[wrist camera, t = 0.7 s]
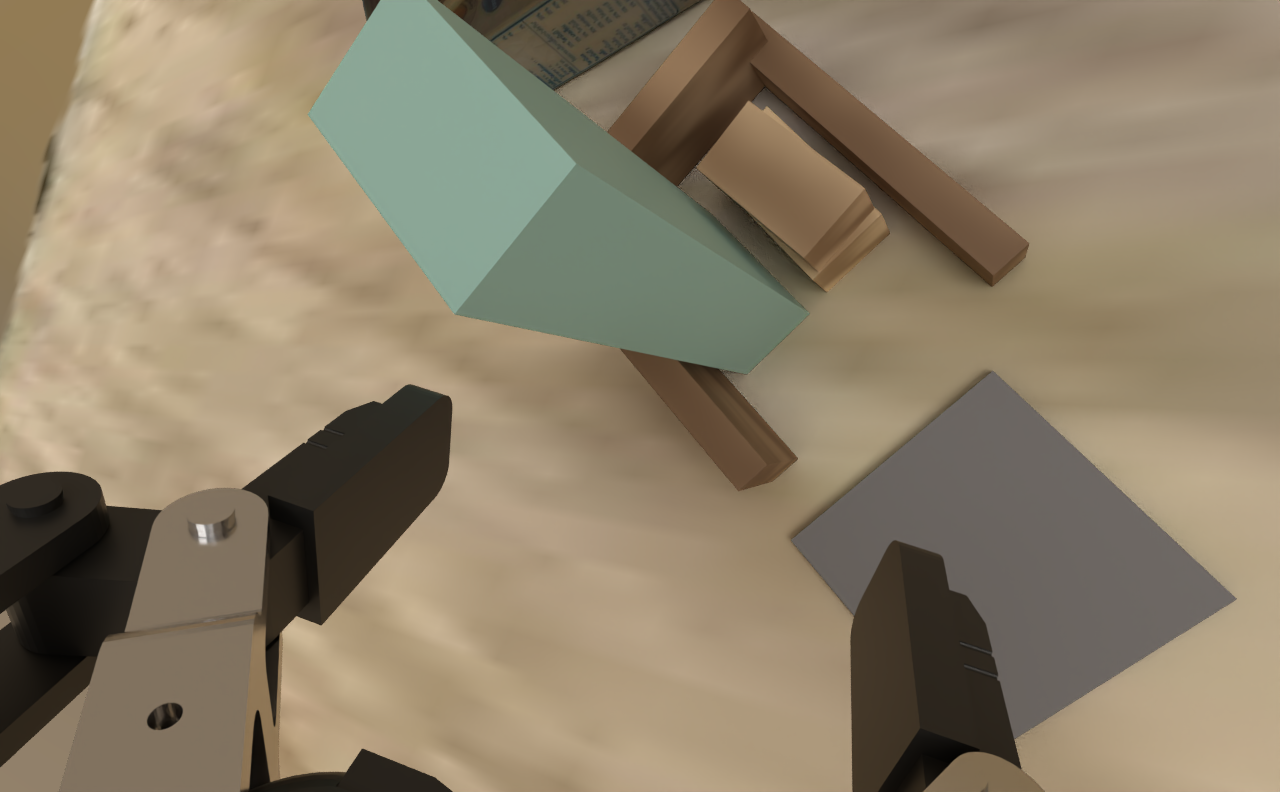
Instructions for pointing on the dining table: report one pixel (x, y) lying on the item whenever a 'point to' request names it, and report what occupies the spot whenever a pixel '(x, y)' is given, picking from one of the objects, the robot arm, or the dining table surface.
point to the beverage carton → (560, 29)
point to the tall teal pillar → (537, 201)
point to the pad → (1021, 549)
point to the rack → (759, 56)
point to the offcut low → (851, 249)
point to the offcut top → (786, 185)
